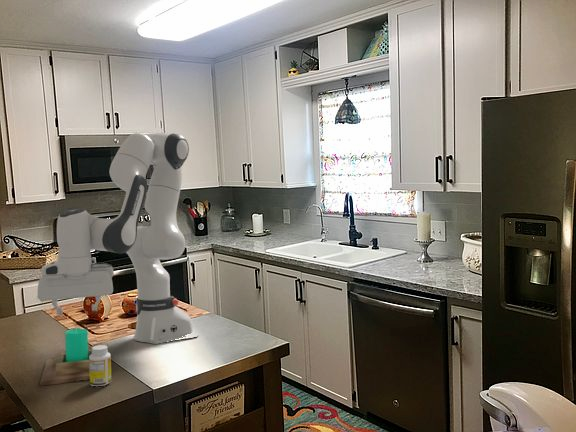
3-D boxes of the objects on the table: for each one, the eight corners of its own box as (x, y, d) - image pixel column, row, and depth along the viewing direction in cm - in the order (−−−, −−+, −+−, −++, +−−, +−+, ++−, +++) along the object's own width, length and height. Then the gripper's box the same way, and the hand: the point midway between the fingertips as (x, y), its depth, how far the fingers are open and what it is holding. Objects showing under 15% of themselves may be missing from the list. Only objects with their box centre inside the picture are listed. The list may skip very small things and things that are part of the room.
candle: (80, 370, 148) (79, 329, 147) (61, 369, 149) (60, 327, 148) (92, 363, 153) (91, 323, 153) (74, 361, 155) (73, 322, 154)
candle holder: (110, 356, 163) (110, 344, 162) (111, 377, 146) (110, 363, 146) (47, 363, 157) (47, 350, 156) (40, 385, 140) (40, 371, 140)
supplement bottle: (104, 378, 145) (103, 342, 144) (115, 383, 141) (114, 346, 141) (85, 384, 141) (84, 347, 140) (96, 389, 137) (95, 352, 136)
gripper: (113, 261, 156) (114, 306, 157) (37, 266, 149) (40, 313, 150) (113, 264, 150) (115, 311, 151) (35, 270, 143) (37, 319, 144)
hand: (77, 312), depth 150 cm, fingers open, 8 cm apart
